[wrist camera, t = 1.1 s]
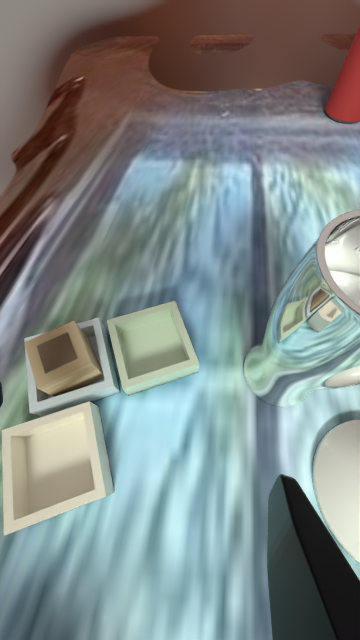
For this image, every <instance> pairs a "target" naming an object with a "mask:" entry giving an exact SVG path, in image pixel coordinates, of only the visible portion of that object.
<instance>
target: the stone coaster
mask: <svg viewBox="0 0 360 640" xmlns="http://www.w3.org/2000/svg"><path fill="white" fill-rule="evenodd" d="M312 478H313V488H314V493H315V497H316V500H317V504H318V507H319V509H320V512H321V514H322V517H323V519H324V521H325V522H326V524H327V526H328V528H329V530H330V531H331V533H332V534H333V536H334V537H335V539H336V540H337V541H338V542H339V544H340V545H341V546H342V547H343V548H344V549H345V550H346V551H347V552H348V553H349V554H350V555H351V556H352V557H353V558H354V559H355V560H356V561H358V562H359V563H360V419H357V420H351V421H347V422H344V423H341V424H339V425H337V426H335V427H334V428H332V429H331V430H329V431H328V433H327V434H326V435H325V436H324V437H323V438H322V440H321V441H320V443H319V445H318V447H317V449H316V453H315V456H314V461H313V470H312Z"/></svg>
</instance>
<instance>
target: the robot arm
mask: <svg viewBox="0 0 360 640" xmlns="http://www.w3.org/2000/svg"><path fill="white" fill-rule="evenodd" d="M2 403H3V394H2V384H1V382H0V407H1V405H2ZM267 568H268V585H269V598H270V611H271V625H272V638H273V640H360V580H359V579H358V577H357V576H356V574H355V572H354V571H353V569H352V568H351V566H350V565H349V563H348V561H347V560H346V558H345V557H344V555H343V553H342V552H341V550H340V549H339V547H338V546H337V544H336V542H335V541H334V539H333V538H332V536H331V534H330V533H329V531H328V530H327V528H326V527H325V525H324V523H323V522H322V520H321V519H320V517H319V515H318V514H317V512H316V511H315V509H314V508H313V506H312V504H311V503H310V501H309V500H308V498H307V496H306V495H305V493H304V492H303V490H302V489H301V487H300V485H299V484H298V482H297V481H296V480H295V479H294V478H292V477H289V476H286V475H283V474H280V475H279V476H278V477H277V479H276V481H275V483H274V485H273V487H272V489H271V491H270V494H269V500H268V547H267Z"/></svg>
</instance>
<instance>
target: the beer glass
mask: <svg viewBox="0 0 360 640" xmlns="http://www.w3.org/2000/svg"><path fill="white" fill-rule="evenodd" d="M244 376H245V379H246V382H247V384H248V386H249V388H250V389H251V391H252V392H253V393H254V394H255V395H256V396H257V397H258V398H259V399H261V400H262V401H264V402H265V403H267V404H270V405H272V406H276V407H291V406H295V405H297V404H299V403H301V402H303V401H304V400H305V399H306V398H307V397H308V396H309V395H310V394H311V393H312V391H316V390H327V389H336V388H344V387H350V386H355V385H360V210H355V211H351V212H348V213H345V214H342V215H340V216H338V217H336V218H335V219H333V220H332V221H331V222H330V223H328V224H327V225H326V226H325V228H324V229H323V230H322V232H321V234H320V236H319V237H318V239H317V240H316V241H315V242H314V244H313V245H312V246H311V248H310V249H309V250H308V251H307V253H306V254H305V255H304V256H303V258H302V259H301V260H300V262H299V263H298V264H297V266H296V267H295V268H294V270H293V271H292V273H291V274H290V276H289V277H288V279H287V280H286V282H285V283H284V285H283V287H282V288H281V290H280V292H279V294H278V296H277V298H276V300H275V302H274V304H273V307H272V310H271V312H270V315H269V318H268V322H267V326H266V330H265V334H264V338H263V341H261V342H259V343H258V344H256V345H255V346H254V347H253V348H252V349H251V350H250V351H249V352H248V354H247V356H246V358H245V362H244Z"/></svg>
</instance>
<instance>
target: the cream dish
mask: <svg viewBox="0 0 360 640" xmlns="http://www.w3.org/2000/svg"><path fill="white" fill-rule="evenodd" d="M2 464H3V513H4V536H5V535H7V534H10V533H12V532H15V531H18V530H20V529H23V528H25V527H28V526H30V525H33V524H36V523H38V522H41V521H43V520H46V519H49V518H51V517H54V516H56V515H59V514H61V513H64V512H67V511H69V510H72V509H74V508H77V507H80V506H82V505H85V504H87V503H90V502H93V501H95V500H98V499H100V498H103V497H105V496H107V495H109V494H111V493H113V492H114V487H113V482H112V476H111V471H110V466H109V460H108V455H107V449H106V444H105V439H104V433H103V428H102V423H101V417H100V412H99V407H98V406H96V405H95V404H93V403H92V402H90V401H89V402H86V403H83V404H80V405H77V406H74V407H71V408H68V409H65V410H62V411H58V412H55V413H52V414H49V415H46V416H43V417H40V418H37V419H34V420H31V421H28V422H25V423H22V424H19V425H16V426H13V427H10V428H7V429H4V430H2Z"/></svg>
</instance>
